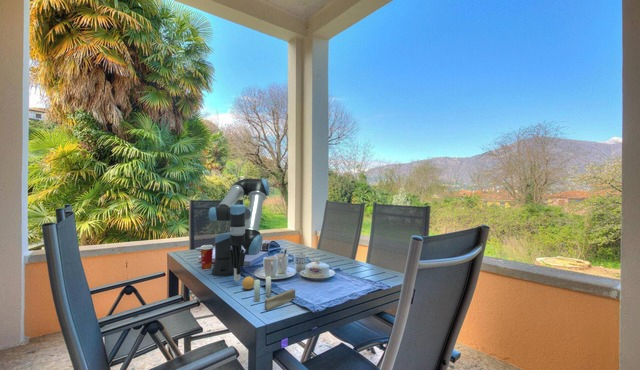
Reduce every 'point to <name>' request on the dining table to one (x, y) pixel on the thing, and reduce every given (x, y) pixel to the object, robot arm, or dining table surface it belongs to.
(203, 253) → the paper cup
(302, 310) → the dining table surface
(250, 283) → the ball
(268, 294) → the ivory pin
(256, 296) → the sage pin
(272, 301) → the back wall
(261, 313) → the dining table surface
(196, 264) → the dining table surface
